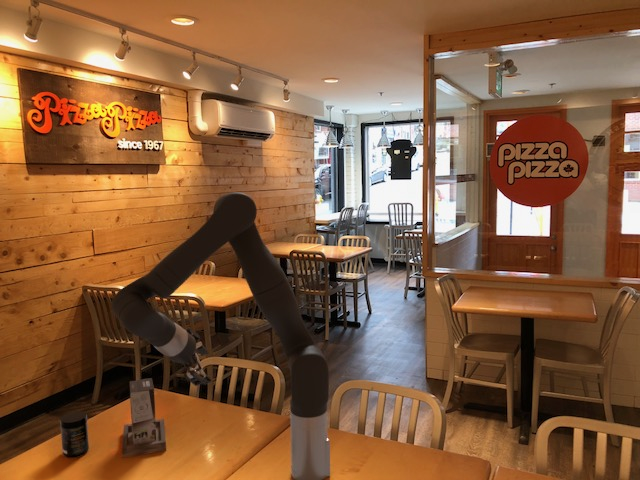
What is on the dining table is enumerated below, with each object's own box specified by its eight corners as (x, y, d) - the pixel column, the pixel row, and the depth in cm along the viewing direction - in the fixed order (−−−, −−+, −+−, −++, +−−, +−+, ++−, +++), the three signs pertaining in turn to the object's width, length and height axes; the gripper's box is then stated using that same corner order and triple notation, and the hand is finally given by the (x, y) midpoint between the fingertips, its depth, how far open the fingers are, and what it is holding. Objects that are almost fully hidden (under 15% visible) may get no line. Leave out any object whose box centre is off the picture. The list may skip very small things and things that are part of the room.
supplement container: (94, 449, 146) (92, 414, 145) (73, 461, 140) (70, 424, 139) (79, 443, 149) (76, 409, 148) (57, 455, 143) (54, 419, 142)
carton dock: (164, 426, 159) (164, 418, 158) (166, 450, 145) (165, 441, 145) (124, 432, 155) (123, 424, 155) (122, 457, 142) (121, 449, 141)
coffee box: (157, 443, 147) (154, 389, 145) (133, 448, 145) (129, 392, 142) (155, 429, 155) (152, 377, 153) (132, 433, 153) (129, 380, 151)
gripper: (189, 361, 123) (222, 385, 135) (185, 312, 132) (216, 339, 144) (161, 373, 123) (197, 396, 136) (159, 323, 133) (192, 349, 145)
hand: (207, 367), depth 140 cm, fingers open, 8 cm apart
